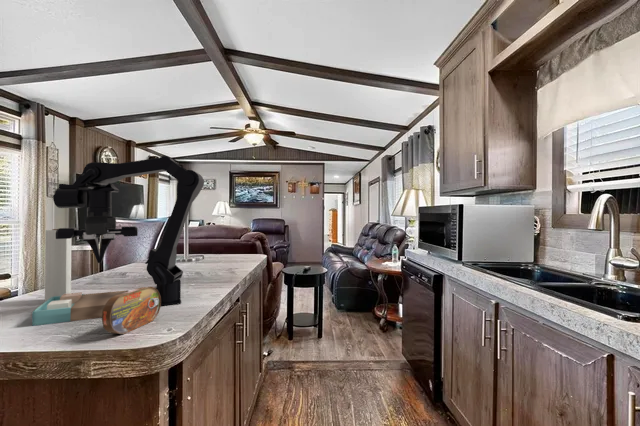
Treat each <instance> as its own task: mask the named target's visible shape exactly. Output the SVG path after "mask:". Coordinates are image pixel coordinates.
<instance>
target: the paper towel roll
mask: <svg viewBox="0 0 640 426" xmlns="http://www.w3.org/2000/svg"><path fill="white" fill-rule="evenodd" d="M57 229H58V228H52V229H46V230H45V238H44V239H45V240H44V241H45V249H44V252H45V253H44V254H45V255H44V259H45V260H44V265H45V266H44V302H46V301H47V300H48V299H49V298H51V297H53V296H62V295H63V294H69V293H72V240H73V238H70V239H56V230H57Z"/></svg>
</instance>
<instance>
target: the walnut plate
mask: <svg viewBox="0 0 640 426" xmlns="http://www.w3.org/2000/svg"><path fill="white" fill-rule="evenodd" d="M128 291H129V290H128V289H127V290H117V291H116V290H115V291H107V292H95V293H87V294H86V293H82V294H83V295H82V296H81V298H80V299H79V300H78V301H77V302H76V303H75V304H74V305H73V307H72V308H71V317H70V321H69V322H75V321H85V320H92V319H100V318H101V319H102V311H103V308H104V306H105V304H106V303H107V301H108V300H109V299H110V298H112V297H113V296H115V295H118V294H122V293H125V292H128Z"/></svg>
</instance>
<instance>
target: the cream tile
mask: <svg viewBox="0 0 640 426" xmlns="http://www.w3.org/2000/svg"><path fill="white" fill-rule="evenodd" d="M69 307H72V299H69V300H58V301H51V302H50V303H49V304H48V305H47V310H50V309H59V308H69Z"/></svg>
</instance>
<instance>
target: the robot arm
mask: <svg viewBox="0 0 640 426" xmlns="http://www.w3.org/2000/svg"><path fill="white" fill-rule="evenodd" d="M163 172H166V173H167V174H169V175H170V176H171V177H172V178H174V179H176V180H177V185H176V199H175V202H174V206H173V208H172V211H171V214H170V217H169V220H168V223H167V226H166V228H165V232H164V234H163V236H162V240H161V242H160V245H159V246H158V248H157V247H156V248H153V249H150V250H149V253H148V254H149V255H148V258H147V260H146V261H145V263H144V264H146V272H147V273H148V275H149V276H150V277H151V278H152V280H153V283H154V285H156V286H153V287H154V288H156V289H157V290H158V292H159V293H160V297H161V306H167V305H177V304H178V305H179V304H182V299H181V298H182V297H181V295H182V294H181V292H182V290H181V289H182V288H181V278H182V277H183V274H184V272H183V270H182V269H181V268H180V267H178V266H177V265H176V262H177V257H178V256H177V252H178V251H177V247H178V244H179V241H180V238H181V236H182V232H183V231H184V230H183V229H184V227H185V224H186V221H187V219H188V217H189V213H190V210H191V207H192V204H193V202H194V201H195V200H196V198H197V197H198V196H199V194H200V193H201V191H202V189H203V187H204V186H205V179H204V177H203V176H202V174H199V172H196V171H194V170H192V169H187V168H185V167H183V166H181V165H180V164H179V163H178V162H176V161H175V160H174V159H173V158H172V157H169V156H168V155H167V156H166V155H162V156H160V157H154V158H147V159H139V160H134V161H127V162H121V163H120V162H119V163H117V162H101V161H99V162H96V161H95V162H93V161H92V162H88V163H86V165H85V167H83V171H82V173H81V174H80V175H79V176H78V177H77V179H76V180H75V181H74V182H73V184H67V183H59V184H58V188H57V189H56V190H55V191H54V194H53V195H52V199H53V203H54V205H55V207H57V208H58V209H83V208H85V207H86V219H85V220H84V228H85V229H78V227H58V228H56V229H57V230H56V239H70V238H72V239H73V238H75V237H82V242H87V243H88V244H89V246H90V248H91V250H92V251H93V255H94V256H95V259H96V262H97V263H98V264H101V263H103V259H104V257H105V254H106V252H107V249H108V247H109V245H110V243H111V242H112V241H115V240H116V238H117V237H116V236H120V235H121V236H123V237H138V235H139V234H138V227H137V226H121V228H116V227H117V216H115V215H112V193H119V192H120V189H119V188H117V186H115V184H114V183H117V182H119V181H121V180H123V179H125V178H132V177H138V176H145V175H151V174H157V173H163ZM97 236H102V237H103V238H101V245H99V244H100V243H99V238H98V237H97ZM161 306H160V307H161Z"/></svg>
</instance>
